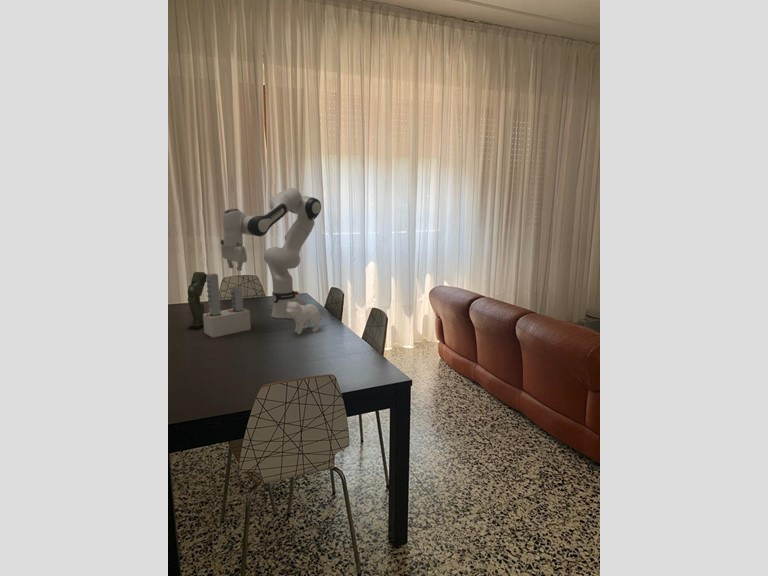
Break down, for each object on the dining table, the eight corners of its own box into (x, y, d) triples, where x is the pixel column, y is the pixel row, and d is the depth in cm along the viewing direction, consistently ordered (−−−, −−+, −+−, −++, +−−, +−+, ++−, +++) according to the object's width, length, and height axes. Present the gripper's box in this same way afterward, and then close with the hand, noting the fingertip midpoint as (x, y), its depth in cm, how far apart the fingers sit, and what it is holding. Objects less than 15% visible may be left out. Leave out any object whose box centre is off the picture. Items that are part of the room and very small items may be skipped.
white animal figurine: (316, 323, 241) (315, 293, 237) (330, 327, 234) (329, 296, 231) (279, 334, 222) (278, 302, 218) (293, 338, 215) (292, 305, 212)
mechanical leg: (194, 330, 223) (198, 271, 224) (182, 329, 225) (186, 270, 226) (210, 329, 237) (214, 273, 238) (198, 328, 238) (202, 272, 239)
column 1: (217, 316, 223) (214, 273, 218) (220, 318, 220) (217, 274, 215) (208, 318, 220) (205, 274, 215) (212, 319, 217) (208, 275, 212)
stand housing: (241, 325, 236) (240, 306, 234) (250, 329, 229) (249, 309, 227) (204, 333, 223) (202, 312, 220) (212, 337, 215) (211, 316, 213)
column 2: (240, 326, 233) (238, 286, 228) (244, 328, 230) (241, 287, 225) (232, 328, 230) (229, 287, 225) (236, 330, 227) (233, 288, 222)
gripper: (249, 243, 215) (250, 271, 218) (230, 240, 230) (232, 266, 232) (237, 244, 211) (238, 272, 214) (218, 240, 225) (220, 267, 228)
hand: (235, 269), depth 223 cm, fingers open, 8 cm apart
